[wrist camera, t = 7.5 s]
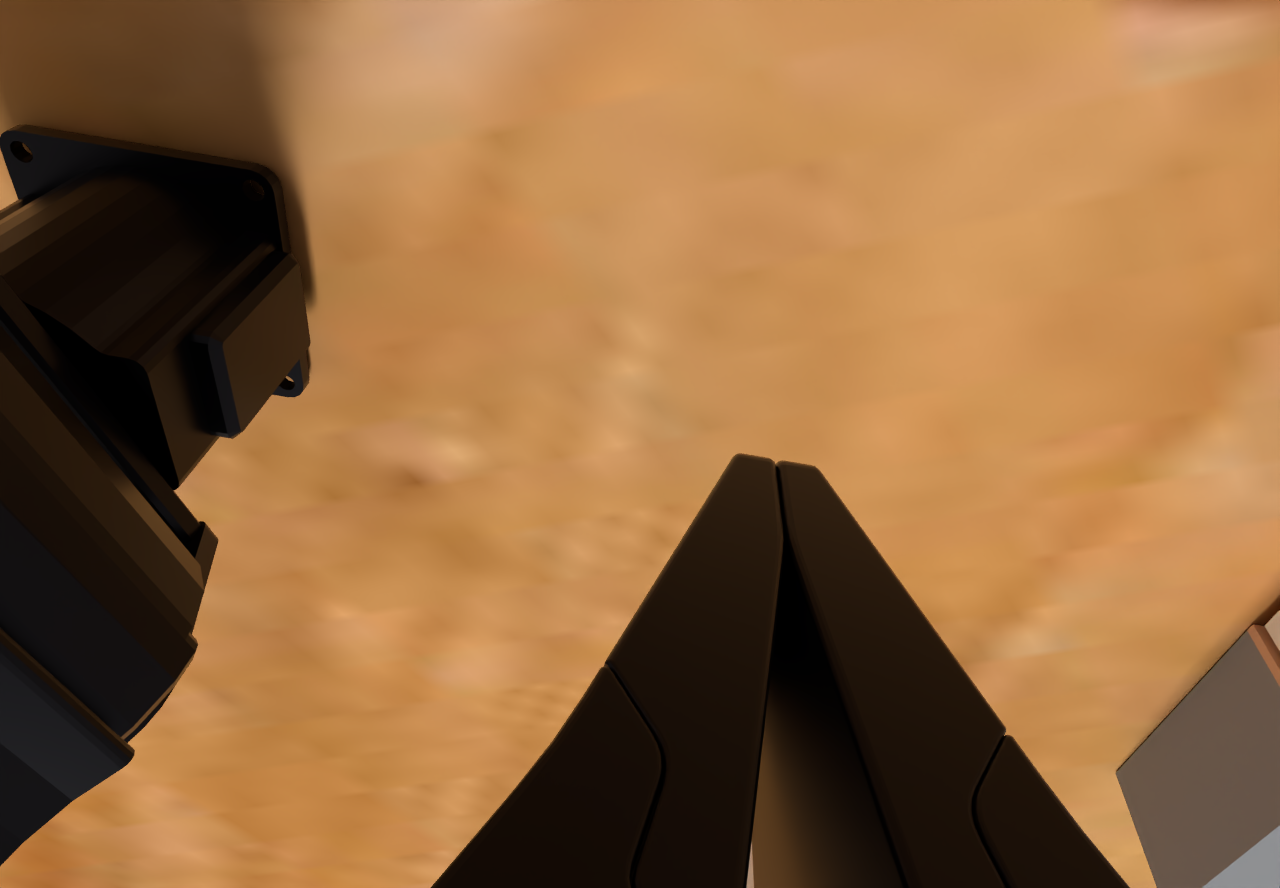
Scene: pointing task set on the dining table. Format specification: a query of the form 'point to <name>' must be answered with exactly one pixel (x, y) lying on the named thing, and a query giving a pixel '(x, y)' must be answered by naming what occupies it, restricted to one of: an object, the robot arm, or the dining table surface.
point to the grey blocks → (1214, 777)
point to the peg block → (1274, 629)
